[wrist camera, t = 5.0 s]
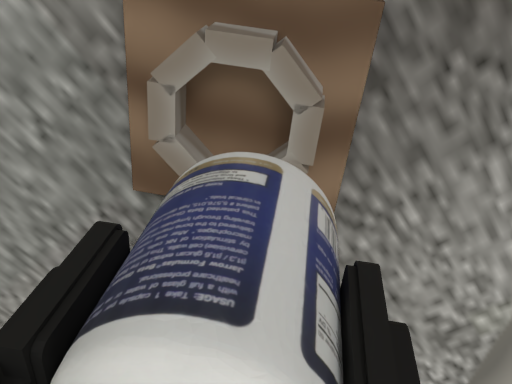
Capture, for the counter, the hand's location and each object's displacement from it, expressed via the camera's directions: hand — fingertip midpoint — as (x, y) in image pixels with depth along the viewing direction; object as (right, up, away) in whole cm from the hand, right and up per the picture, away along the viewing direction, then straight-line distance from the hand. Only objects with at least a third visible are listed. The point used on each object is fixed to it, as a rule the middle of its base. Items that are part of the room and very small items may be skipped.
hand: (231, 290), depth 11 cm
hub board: (0, +8, +16) cm, 18 cm away
